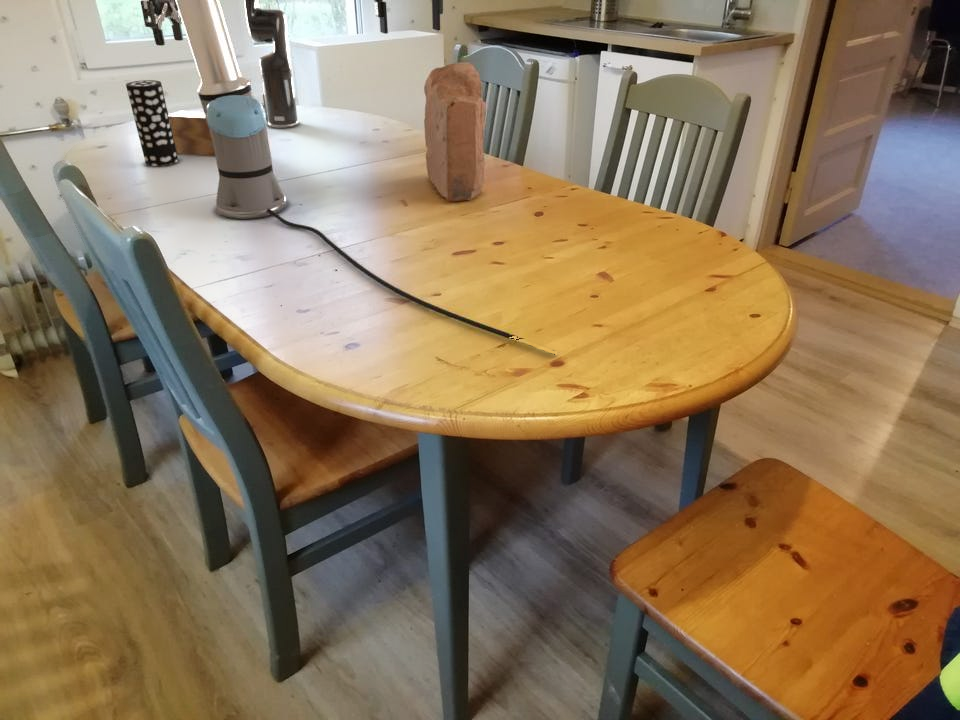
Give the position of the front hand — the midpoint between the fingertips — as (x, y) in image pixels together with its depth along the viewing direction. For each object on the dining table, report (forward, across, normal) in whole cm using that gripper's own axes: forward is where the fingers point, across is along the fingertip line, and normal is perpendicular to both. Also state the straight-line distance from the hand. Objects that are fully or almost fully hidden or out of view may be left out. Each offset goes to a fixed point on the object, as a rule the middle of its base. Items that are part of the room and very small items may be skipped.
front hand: (410, 31), depth 164 cm
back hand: (+5, +49, -45) cm, 67 cm away
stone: (+34, -3, +17) cm, 38 cm away
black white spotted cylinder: (+24, +58, -38) cm, 73 cm away
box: (+34, +43, -40) cm, 68 cm away
